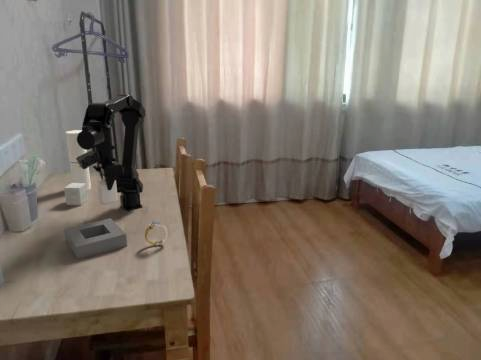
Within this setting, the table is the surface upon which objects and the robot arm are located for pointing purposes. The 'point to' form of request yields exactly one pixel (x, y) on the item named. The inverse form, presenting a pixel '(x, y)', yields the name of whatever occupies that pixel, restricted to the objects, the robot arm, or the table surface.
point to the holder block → (95, 238)
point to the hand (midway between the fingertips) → (107, 188)
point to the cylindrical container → (74, 152)
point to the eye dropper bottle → (107, 193)
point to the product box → (76, 193)
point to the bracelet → (152, 228)
